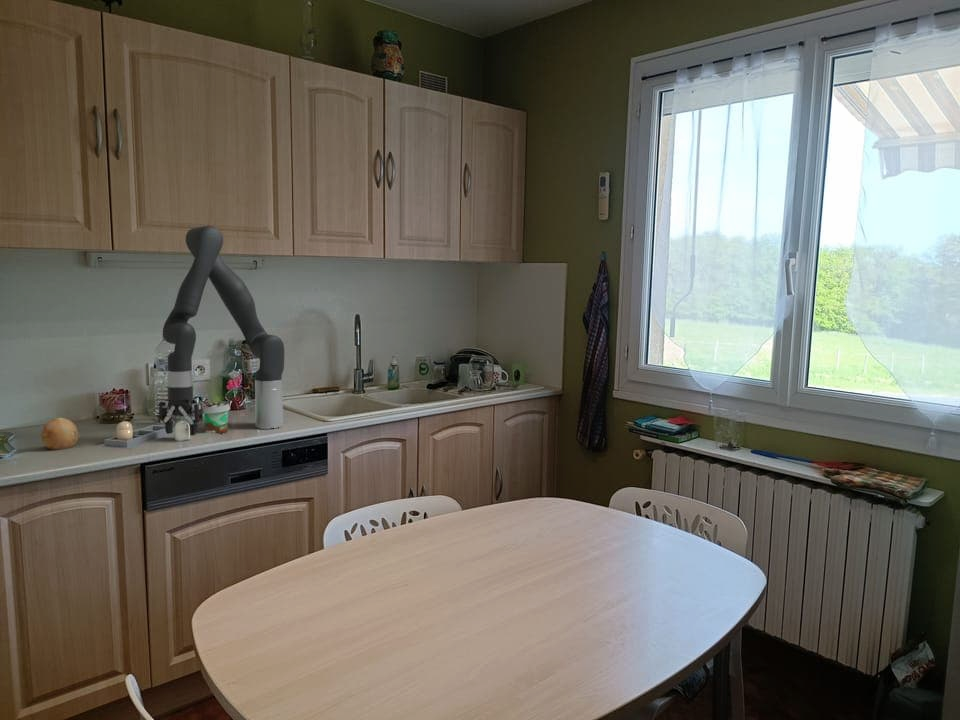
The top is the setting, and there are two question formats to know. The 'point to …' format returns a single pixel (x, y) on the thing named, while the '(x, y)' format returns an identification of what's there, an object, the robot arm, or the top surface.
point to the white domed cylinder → (182, 431)
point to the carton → (138, 437)
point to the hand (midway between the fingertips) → (181, 434)
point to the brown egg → (124, 431)
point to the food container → (216, 417)
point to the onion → (59, 434)
